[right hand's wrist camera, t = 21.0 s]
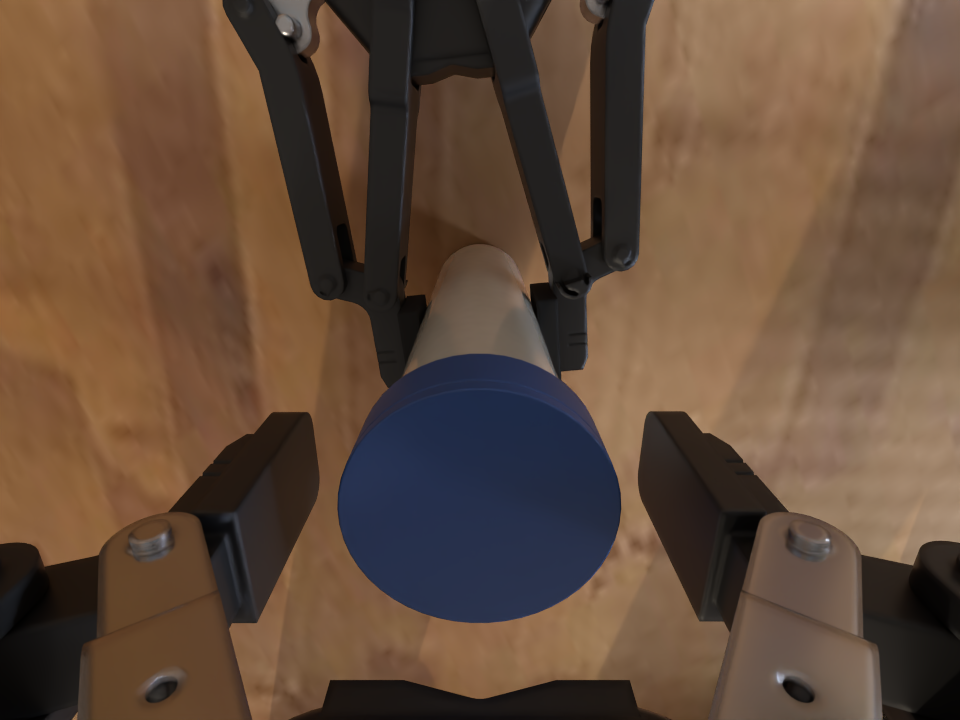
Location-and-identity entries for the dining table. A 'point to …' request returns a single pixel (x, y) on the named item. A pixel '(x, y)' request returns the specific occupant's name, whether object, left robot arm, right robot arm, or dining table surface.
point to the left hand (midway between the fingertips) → (492, 442)
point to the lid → (479, 491)
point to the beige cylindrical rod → (479, 312)
